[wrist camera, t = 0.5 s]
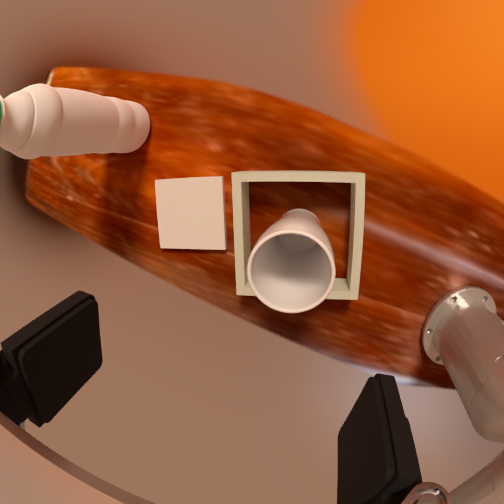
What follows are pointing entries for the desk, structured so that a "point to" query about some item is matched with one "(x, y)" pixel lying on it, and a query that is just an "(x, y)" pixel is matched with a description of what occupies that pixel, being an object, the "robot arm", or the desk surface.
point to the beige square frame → (242, 178)
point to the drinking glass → (292, 263)
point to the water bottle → (69, 123)
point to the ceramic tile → (191, 213)
